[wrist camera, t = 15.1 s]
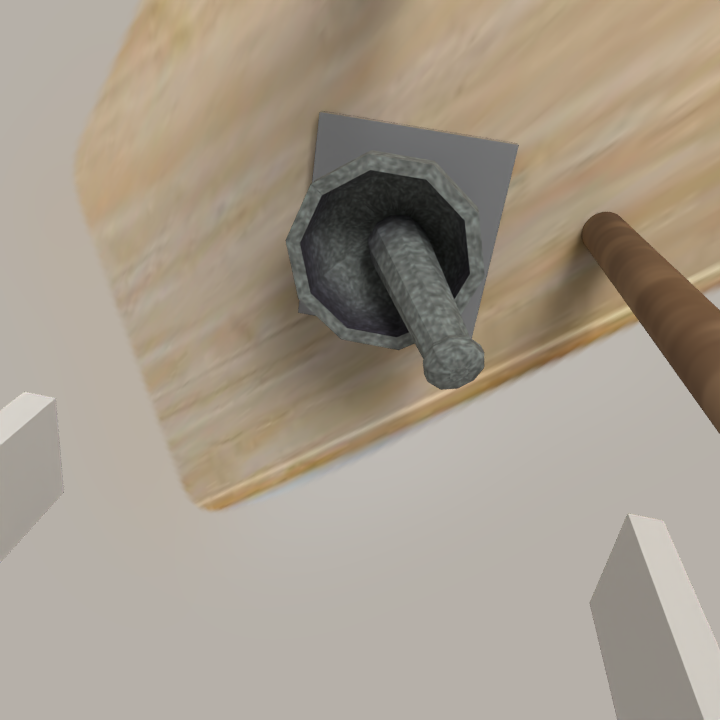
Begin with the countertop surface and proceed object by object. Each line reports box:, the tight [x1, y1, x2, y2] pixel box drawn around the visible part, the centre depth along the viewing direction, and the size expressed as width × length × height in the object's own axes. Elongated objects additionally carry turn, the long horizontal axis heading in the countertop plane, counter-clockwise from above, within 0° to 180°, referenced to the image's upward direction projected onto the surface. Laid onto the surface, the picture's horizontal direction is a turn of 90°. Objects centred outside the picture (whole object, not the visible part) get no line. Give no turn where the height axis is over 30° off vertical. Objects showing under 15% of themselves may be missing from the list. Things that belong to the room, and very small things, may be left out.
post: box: [582, 212, 720, 433], centre depth 25 cm, size 3×3×26 cm
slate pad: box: [298, 111, 519, 339], centre depth 38 cm, size 11×12×1 cm
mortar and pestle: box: [286, 150, 485, 390], centre depth 32 cm, size 11×9×12 cm
